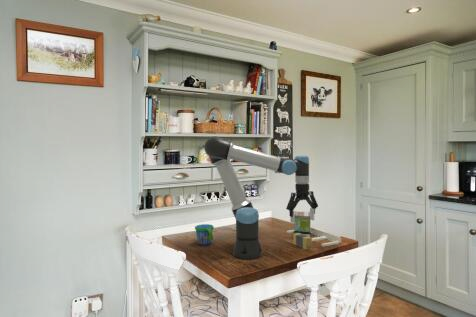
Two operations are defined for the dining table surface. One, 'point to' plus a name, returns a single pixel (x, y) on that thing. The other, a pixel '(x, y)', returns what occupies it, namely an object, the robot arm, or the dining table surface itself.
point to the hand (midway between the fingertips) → (302, 221)
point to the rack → (323, 236)
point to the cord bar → (302, 241)
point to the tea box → (302, 223)
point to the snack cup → (204, 233)
